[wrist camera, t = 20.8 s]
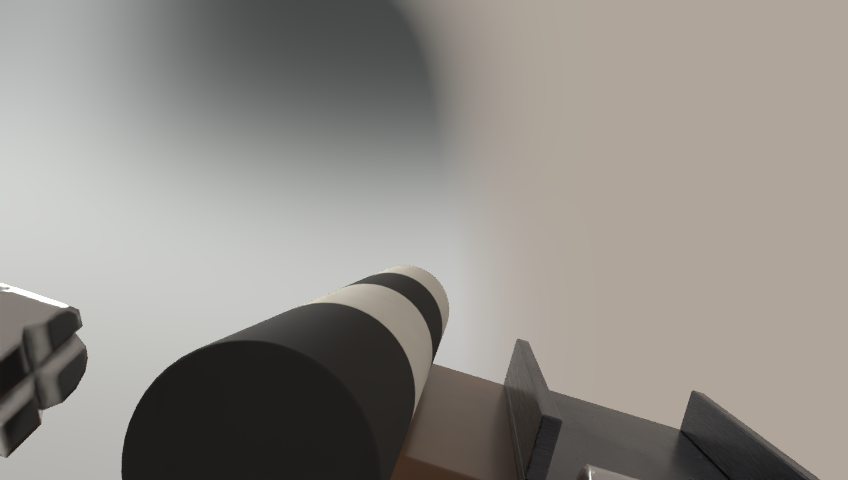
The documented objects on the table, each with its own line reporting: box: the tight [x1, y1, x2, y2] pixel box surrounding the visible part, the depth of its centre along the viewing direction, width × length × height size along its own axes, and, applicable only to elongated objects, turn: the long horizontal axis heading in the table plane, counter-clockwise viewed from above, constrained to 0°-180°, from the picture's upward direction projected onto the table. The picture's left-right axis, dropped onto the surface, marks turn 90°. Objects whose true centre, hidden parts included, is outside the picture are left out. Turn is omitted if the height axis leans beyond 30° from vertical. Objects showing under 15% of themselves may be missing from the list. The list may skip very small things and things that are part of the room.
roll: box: [121, 265, 449, 480], centre depth 20 cm, size 20×4×4 cm, turn 175°
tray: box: [504, 339, 819, 480], centre depth 23 cm, size 9×12×2 cm
